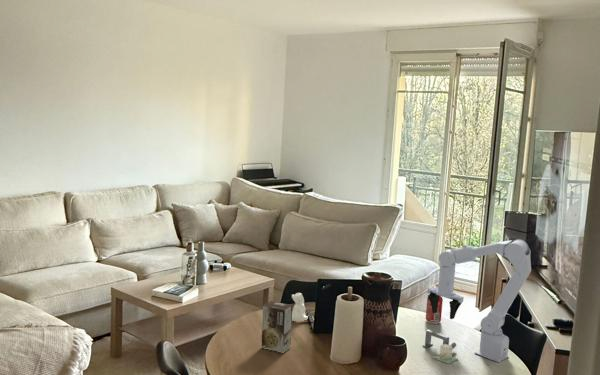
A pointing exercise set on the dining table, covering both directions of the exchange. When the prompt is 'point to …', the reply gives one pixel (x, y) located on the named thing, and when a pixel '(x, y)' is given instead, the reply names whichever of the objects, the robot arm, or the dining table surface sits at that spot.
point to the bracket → (435, 334)
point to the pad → (445, 360)
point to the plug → (446, 351)
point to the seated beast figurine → (298, 308)
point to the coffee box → (276, 326)
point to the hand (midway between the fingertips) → (443, 315)
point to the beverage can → (434, 317)
